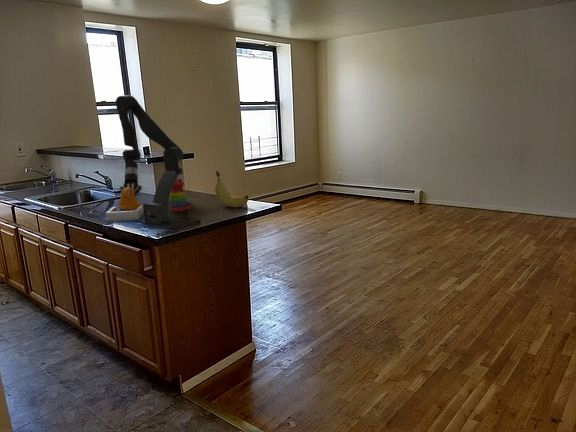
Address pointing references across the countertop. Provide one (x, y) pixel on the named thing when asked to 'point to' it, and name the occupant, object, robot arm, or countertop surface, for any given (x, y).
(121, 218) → the bracket
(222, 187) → the banana
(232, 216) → the countertop surface
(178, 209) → the stacking bear
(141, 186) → the robot arm
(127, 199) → the orange tapered block
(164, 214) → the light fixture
